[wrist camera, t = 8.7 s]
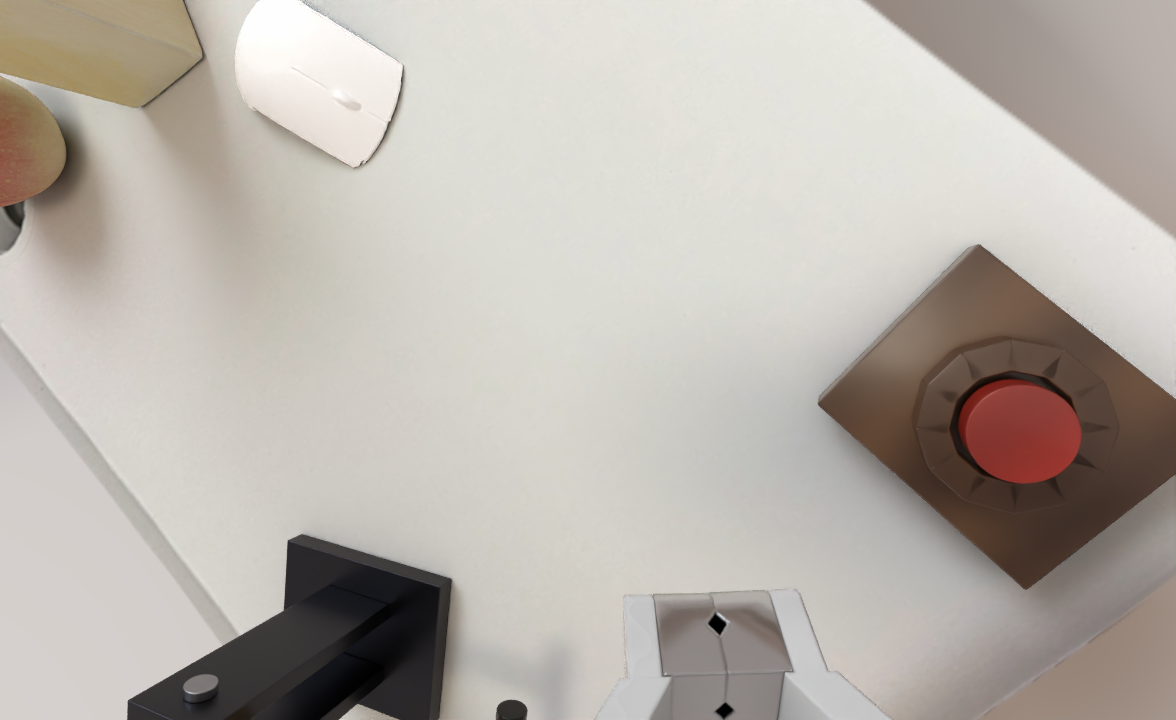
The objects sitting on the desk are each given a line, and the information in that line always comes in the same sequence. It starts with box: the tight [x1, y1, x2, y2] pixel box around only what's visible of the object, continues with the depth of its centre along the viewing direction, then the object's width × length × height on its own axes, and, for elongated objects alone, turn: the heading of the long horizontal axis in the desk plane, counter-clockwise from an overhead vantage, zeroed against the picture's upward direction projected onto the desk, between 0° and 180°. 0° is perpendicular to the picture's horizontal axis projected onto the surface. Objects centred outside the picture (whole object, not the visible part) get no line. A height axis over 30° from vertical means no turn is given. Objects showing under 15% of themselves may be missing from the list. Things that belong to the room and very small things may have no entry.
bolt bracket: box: [127, 534, 451, 720], centre depth 36 cm, size 11×9×14 cm
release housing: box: [818, 244, 1176, 590], centre depth 28 cm, size 11×9×4 cm
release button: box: [958, 379, 1081, 484], centre depth 25 cm, size 4×4×2 cm
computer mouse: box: [234, 0, 403, 168], centre depth 39 cm, size 7×12×2 cm, turn 59°
